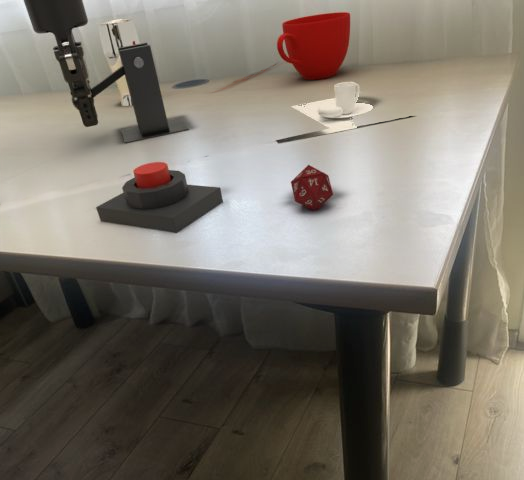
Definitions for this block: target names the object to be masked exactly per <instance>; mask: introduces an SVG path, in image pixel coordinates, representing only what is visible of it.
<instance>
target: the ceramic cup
mask: <svg viewBox="0 0 524 480" xmlns="http://www.w3.org/2000/svg"><path fill="white" fill-rule="evenodd" d="M281 26H282V34H280V35H279V36H278V38H277V41H276V50H277V52H278V54H279V56H280V58H281V59H282V60H283V61H284V62H285V63H288V64H291V65H292V66H293V68H294V69H295V70H296V72H297V73H298V74H299V75H300V76H301V77H302V79H304V80H307V81H308V80H309V81H310V80H311V81H312V80H313V81H314V80H322V79H327V78H331V77H333V76H335V75H337V72H338V71H339V70H340V68H341V67H342V65H343V63H344V61H345V59H346V56H347V54H348V50H349V45H350V36H351V13H350V12H348V11H347V12H346V11H345V12H344V11H339V12H327V13H319V14H313V15H307V16H301V17H296V18H293V19H289V20H286V21H283V22H282V24H281ZM284 45H285V49H286V52H285V50H284ZM286 53H287V54H286Z"/></svg>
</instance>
